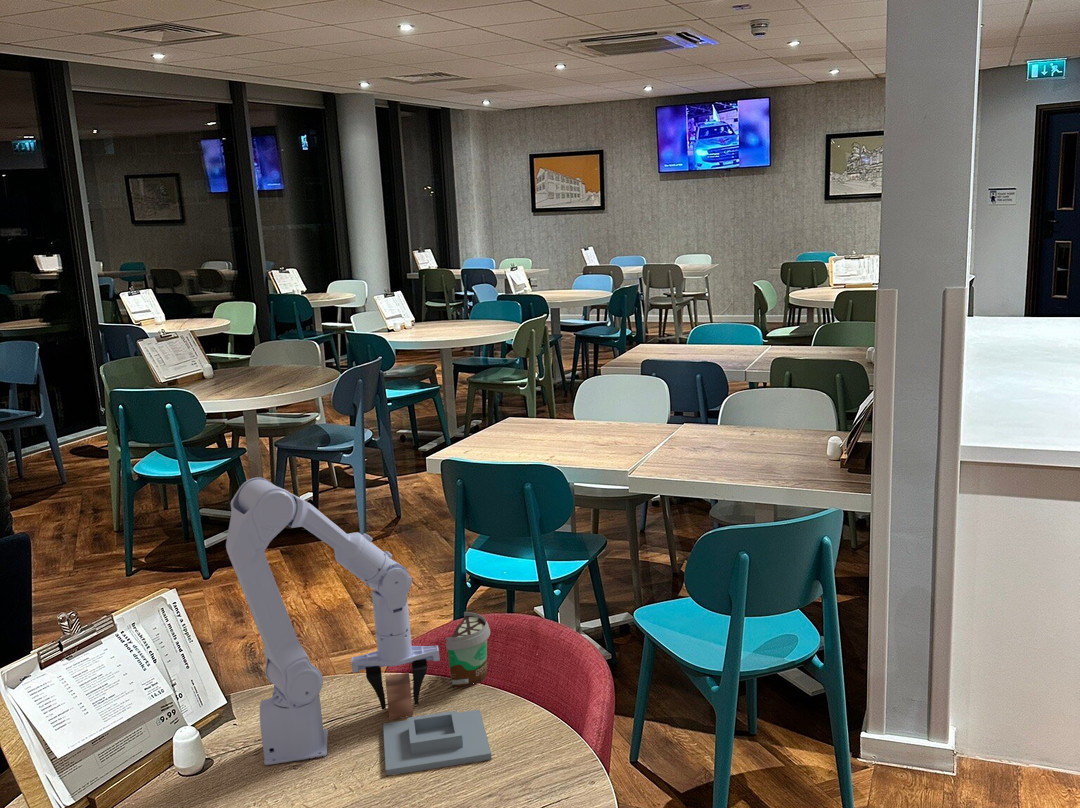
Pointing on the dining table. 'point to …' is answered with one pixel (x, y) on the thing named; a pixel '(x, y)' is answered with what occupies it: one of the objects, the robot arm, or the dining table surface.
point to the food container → (468, 651)
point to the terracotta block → (399, 695)
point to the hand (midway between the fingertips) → (399, 704)
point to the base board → (435, 741)
